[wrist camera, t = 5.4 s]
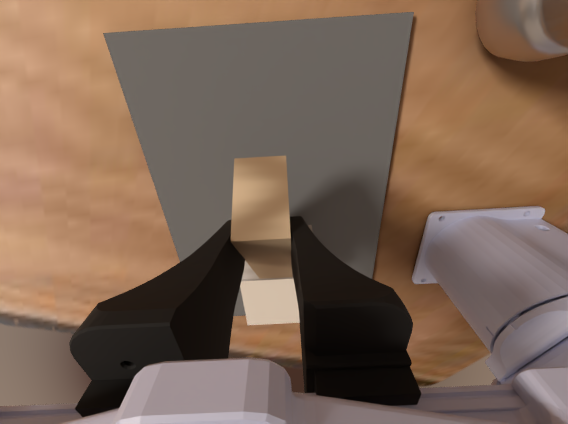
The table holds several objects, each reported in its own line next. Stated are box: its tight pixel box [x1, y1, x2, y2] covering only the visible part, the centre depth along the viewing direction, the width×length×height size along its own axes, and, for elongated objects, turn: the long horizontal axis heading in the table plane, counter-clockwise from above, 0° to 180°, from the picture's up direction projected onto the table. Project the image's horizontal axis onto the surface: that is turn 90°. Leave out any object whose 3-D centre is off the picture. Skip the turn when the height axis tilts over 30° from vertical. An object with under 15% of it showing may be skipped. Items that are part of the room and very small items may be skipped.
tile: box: [240, 279, 300, 325], centre depth 24 cm, size 7×2×8 cm
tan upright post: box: [231, 156, 312, 281], centre depth 15 cm, size 6×10×4 cm
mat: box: [103, 12, 414, 316], centre depth 21 cm, size 18×25×1 cm
